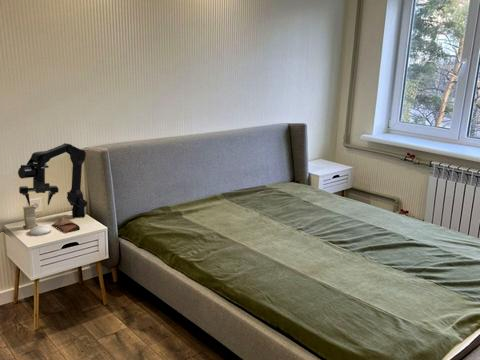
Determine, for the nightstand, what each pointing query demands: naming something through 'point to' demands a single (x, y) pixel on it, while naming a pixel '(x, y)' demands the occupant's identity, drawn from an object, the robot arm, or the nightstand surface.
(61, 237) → the nightstand surface
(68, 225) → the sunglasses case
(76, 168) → the robot arm
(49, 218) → the nightstand surface
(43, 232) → the stand
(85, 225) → the nightstand surface
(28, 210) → the beige container
